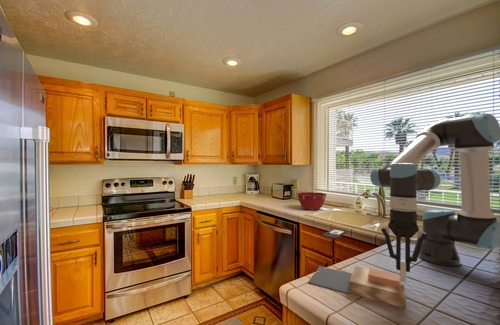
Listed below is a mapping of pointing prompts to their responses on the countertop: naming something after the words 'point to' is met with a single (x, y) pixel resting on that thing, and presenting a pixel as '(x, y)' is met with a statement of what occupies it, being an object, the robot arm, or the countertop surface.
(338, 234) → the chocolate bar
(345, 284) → the mat
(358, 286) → the board
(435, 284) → the countertop surface
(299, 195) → the mixing bowl
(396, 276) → the tile
